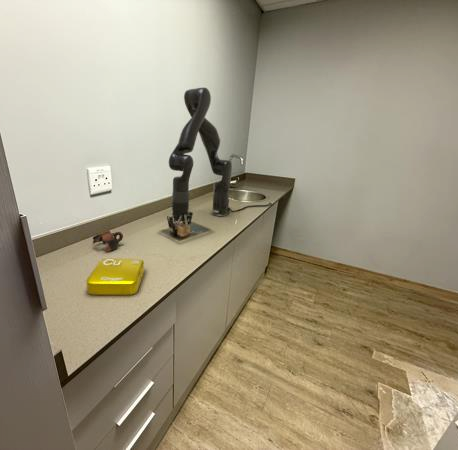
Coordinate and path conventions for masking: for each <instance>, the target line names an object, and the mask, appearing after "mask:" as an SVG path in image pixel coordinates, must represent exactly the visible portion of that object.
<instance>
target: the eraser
mask: <svg viewBox="0 0 458 450" xmlns="http://www.w3.org/2000/svg"><path fill="white" fill-rule="evenodd" d="M175 225H176V224H175ZM169 228H170V227H169ZM170 233H171V234H173V229H172V228H170ZM189 236H190V226H188V225H186V224H183V223H182V221H181V222H180V223H179V225H178V227H177V237H179V238H181V239H183V238H186V237H189Z"/></svg>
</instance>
